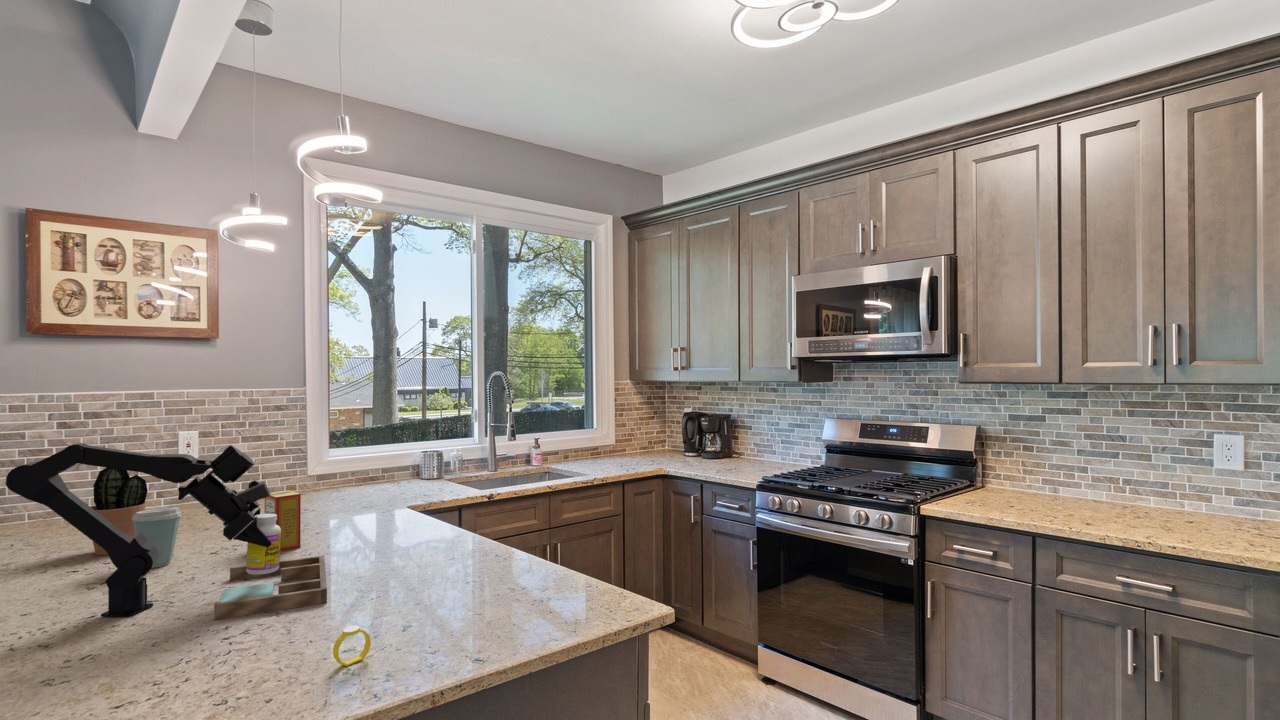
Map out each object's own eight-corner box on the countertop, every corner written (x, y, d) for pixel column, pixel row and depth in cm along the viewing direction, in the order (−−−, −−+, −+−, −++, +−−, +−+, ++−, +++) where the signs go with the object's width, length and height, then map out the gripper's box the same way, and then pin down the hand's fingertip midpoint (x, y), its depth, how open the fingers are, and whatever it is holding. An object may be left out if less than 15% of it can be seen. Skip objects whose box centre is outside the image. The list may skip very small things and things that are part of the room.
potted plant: (91, 560, 176) (92, 469, 176) (78, 552, 184) (79, 465, 185) (152, 549, 187) (152, 463, 187) (137, 542, 195) (137, 460, 196)
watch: (365, 654, 114) (365, 621, 114) (373, 659, 112) (372, 624, 113) (331, 666, 110) (331, 631, 110) (338, 671, 108) (338, 635, 108)
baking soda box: (300, 547, 187) (300, 492, 187) (276, 552, 182) (276, 495, 183) (288, 542, 193) (288, 489, 194) (264, 546, 189) (264, 492, 189)
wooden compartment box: (213, 620, 131) (213, 605, 131) (229, 579, 158) (229, 567, 158) (326, 602, 141) (326, 588, 141) (324, 566, 168) (324, 555, 168)
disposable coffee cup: (123, 567, 169) (123, 510, 169) (168, 557, 178) (169, 503, 179) (144, 573, 164) (144, 514, 164) (190, 562, 173) (190, 506, 174)
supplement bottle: (264, 576, 144) (266, 519, 145) (239, 574, 146) (241, 517, 146) (286, 568, 151) (288, 513, 152) (261, 566, 152) (264, 511, 153)
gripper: (243, 476, 139) (298, 523, 144) (250, 466, 156) (300, 508, 160) (198, 515, 135) (256, 562, 140) (210, 500, 152) (262, 543, 157)
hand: (270, 542), depth 149 cm, fingers closed on supplement bottle, 7 cm apart
